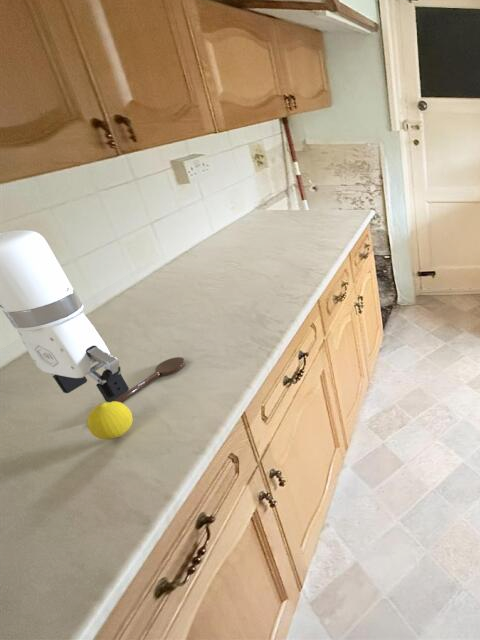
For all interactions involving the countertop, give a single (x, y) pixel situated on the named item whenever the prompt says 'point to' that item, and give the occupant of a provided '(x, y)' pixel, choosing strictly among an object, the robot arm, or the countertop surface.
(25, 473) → the countertop surface
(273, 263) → the countertop surface
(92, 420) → the lemon
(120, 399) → the spoon
